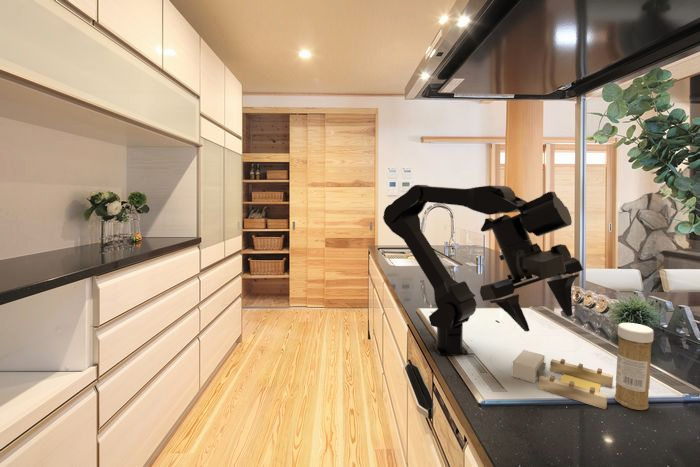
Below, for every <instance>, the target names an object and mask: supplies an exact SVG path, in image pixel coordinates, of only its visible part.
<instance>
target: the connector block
mask: <svg viewBox="0 0 700 467" xmlns="http://www.w3.org/2000/svg"><path fill="white" fill-rule="evenodd" d="M545 359H546V357H545V354H541V353H537V352H533V351H529V350H526V349H522V351H521V352H520V353H519V354H518V355H517V356H516V357H515V359H513V361H512V370H511V372H512V373H511V377H513V376H514V377H513V378H517V379H519V378H520V379H519V380H522V381H525V382H530V383H532V384H535V383H536V382H537V380H539V377H540V376H542V374H543V373H544V371H545V370H546V362H545Z"/></svg>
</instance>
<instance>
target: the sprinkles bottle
mask: <svg viewBox="0 0 700 467" xmlns="http://www.w3.org/2000/svg"><path fill="white" fill-rule="evenodd" d="M617 335H618V336H617V338H618V344H617V345H618V348H617V355H616V356H617V358H616V372H615V375H616V376H615V381H616V382H615V394H614V399H615V401H616V402H617V403H618V404H620V405H622V406H623V407H625V408H628V409H632V410H638V411H645V410H647V409H648V408H649V390H650V384H651V359H652V358H651V357H652V356H651V355H652V344H653V341H654V329H653V328H651V327H649V326H647V325H644V324H639V323H633V322H621V323H619V324H618V326H617Z"/></svg>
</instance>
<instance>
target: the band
mask: <svg viewBox="0 0 700 467" xmlns="http://www.w3.org/2000/svg"><path fill="white" fill-rule="evenodd" d="M559 381H561V382H565V383H568V384H569V383H570V381H573V382H574V385H575V386H578V387H582V388H585V389H589V390H590V388H591V387H593V388H595V392H599V393H600V390H601V388H602V387H601V386H602V385H601V384H598V383H594V382H590V381H587V380H583V379H580V378H576V377H573V376H569V375H566V374H562V376H561V378H560V380H559Z"/></svg>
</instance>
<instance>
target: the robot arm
mask: <svg viewBox="0 0 700 467" xmlns="http://www.w3.org/2000/svg"><path fill="white" fill-rule="evenodd" d="M427 203H434V204H435V203H436V204H443V205H453V206H461V207H465V208H468V209H469V210H471V211H475V212H477V213H481V214H484V215H488V216H489V215H492V216H493V215H500V214H504V215H502V216H499V217H496V218H495V219H493V218H491V217H489V218H488V217H487V218H485V219H484V223H483V225H482V226H481V227H480V231H481V232H483V233H484V232H489V231H492V232H493V235H494V237H495V239H496V243H497V245H498V247H499V250H500V252H501V255H498V257H499V259H500V261H505V264H506V268H507V269H508V272H509V274H507V278H504V279H500V280H497V281H493V282H490V283H487V284H484V285H482V286H480V290H479V294H480V297H481V299H482V301H483V302H484V301H485V302H486V301H489V303H490V304H496V305H497V306H498V307H499V308H500V309H502V311H504V312H505V313H506V314H508V315H509V316H510V318H511V319H512V320H513V321H514V322H516V324H517V325H518V326H519V327H520V328H521V329H522V330H523V331H524V332H526V333H527V332H530V326H529V324H528V320H527V318H526V317H525V314H524V312H523V309H522V308H521V305H520V294H517V293H516V294H514V292H515V290H516V289H519V288H523V287H525V286H528V285H531V284H535V283H538V282H540V281H543V280H546V279H550V280H547V281H546V284H547V285H548V288H549V289H550V290H551V292H552V294H553V296H554V297H555V299H556V302H557V303H558V305H559V306H560V309H561V310H562V311H563V313H564V315H565V316H566V317H572V316H573V302H572V301H573V300H572V287H573V283H575V280H576V278H579V277H580V273H579V272H581V271H584V268H583V266H582V263H581V261H580V260H579V259H577V258H576V257H575V256H574V257H573V256H572V255H571V254H572V253H571V252H570V251H569V248H568V247H567V245H566V244H559V243H558V244H556V245H553V246H551V248H550V249H548V250H545V251H543V250H542V249H541V246H540V245H539V244H538V243H537V242H536V243H533V242H532V240H531V238H530V234H533V235H534V236H536V237H540V236H541V237H542V236H543V235H546V234H549V233H552V232H556V231H558V230H561V229H564V228H566V227H570V226H572V225H573V224H572V223H573V221H572V216H571V213H570V211H569V208H568V207H567V206H566V205H565V203H564V202H563V200H561V199H560V198H559V197H558V195H557V193H556V192H555V191H547V192H546V193H544V194H542V195H540V196H539V197H536V198H534V199H532V200H530V201H526V200H524V199H523V198H521V197H519V196H518V195H516V193H515V191H514V190H513V189H512V188H511V187H510V186H507V185H483V186H475V187H471V188H459V187H458V188H457V187H445V186H443V187H442V186H430V185H427V184H415V185H413V186H411V187H410V188H409V189H408V190H407V191H406V192H405V193H404V194H403V195H400V196H399V197H398V198H396V199H395V200H394V201H392V203H391V204H388V205H387V206H386V207H385V209H384V212H383V216H382V218H383V221H384V224H385V225H386V226H387V227H388V229H390V231H391V232H392V233H394V234H395V235H397V236H398V237H399V238H401V239H402V240H403V242H404V243H405V244H406V246H407V247H408V249H409V251H410V253H411V254H412V255H413V257H414V259H415V261H416V262H417V263H418V266H419V267H420V268H421V270H422V272H423V274H424V275H425V277H426V279H427V280H428V281H429V283H430V285H431V287H432V288H433V292H434V293H433V294H434V296H433V297H434V303H435V306H436V308H437V309H436V310H435V311H433V312H432V313H431V314H430V315H429V316H428V319H429V323H430V325H431V327H434V328H436V341H432V342H431V343H432V346H433V347H434V349H435V350H436V351H437V353H438V355H439V356H452V355H451V354H459V355H468V354H469V351H468V350H467V349H466V347H464V346H463V339H464V338H463V330H464V328H463V326H464V325H463V324H464V323H467V322H469V319H470V317H471V316H472V315H474V314H475V312H476V310H477V304H478V303H477V302H476V301H477V300H476V299H475V298H476V294H474V293H473V292H472V291H471V289H470V287H469V286H468V284H467V282H466V280H464V281H461V282H458V281H456V280H455V279H453V278H452V275H450V273H449V271H448V270H447V268H446V266H445V265H444V264H443V262H442V260H441V259H440V257H439V256H438V254H437V253H436V251H435V250H434V248H433V246H432V245H431V244H430V242H429V240H428V239H427V238H426V236H425V234H424V233H423V231H422V230H421V219H420V216H419V215H420V214H421V213H422V212H423V210H424V208H425V206H426V204H427ZM509 213H510V214H511V213H518V214H516V215H514V216H511V215H507V214H509Z"/></svg>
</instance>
